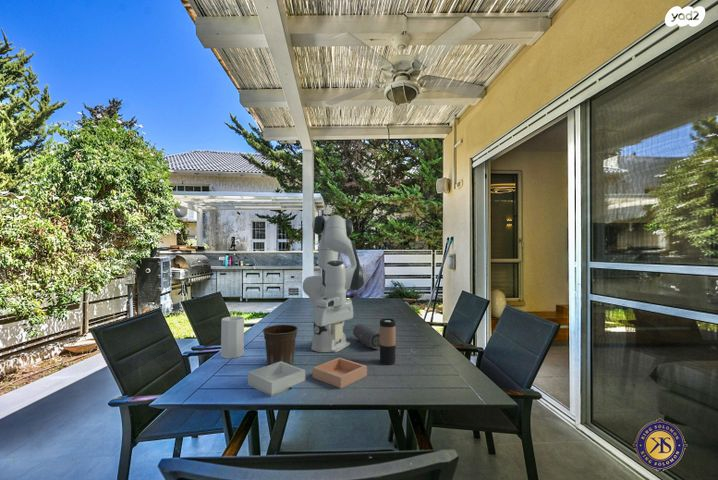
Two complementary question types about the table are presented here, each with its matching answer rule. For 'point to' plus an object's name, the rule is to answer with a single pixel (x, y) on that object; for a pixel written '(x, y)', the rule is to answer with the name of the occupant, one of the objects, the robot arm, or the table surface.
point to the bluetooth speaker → (367, 336)
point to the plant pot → (280, 343)
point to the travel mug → (387, 341)
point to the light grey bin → (275, 378)
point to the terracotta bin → (339, 372)
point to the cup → (232, 337)
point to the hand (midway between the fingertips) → (335, 333)
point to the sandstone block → (336, 331)
